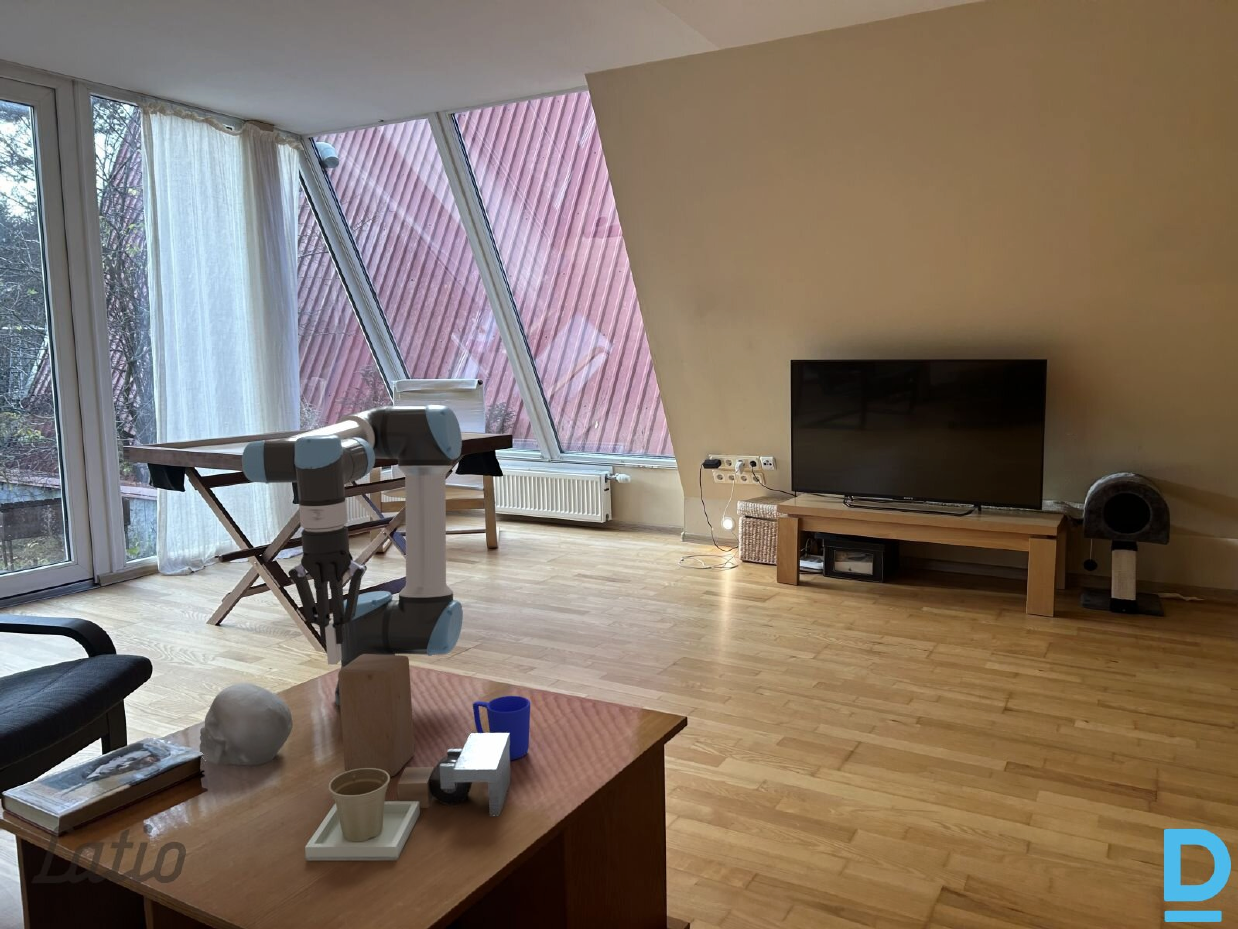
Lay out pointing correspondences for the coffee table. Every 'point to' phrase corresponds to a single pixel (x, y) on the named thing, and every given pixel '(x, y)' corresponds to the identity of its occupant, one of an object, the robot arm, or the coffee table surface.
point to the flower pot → (360, 802)
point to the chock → (416, 785)
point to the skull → (245, 726)
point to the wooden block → (376, 712)
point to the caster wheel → (474, 770)
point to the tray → (382, 847)
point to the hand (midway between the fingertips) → (334, 661)
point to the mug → (508, 721)
